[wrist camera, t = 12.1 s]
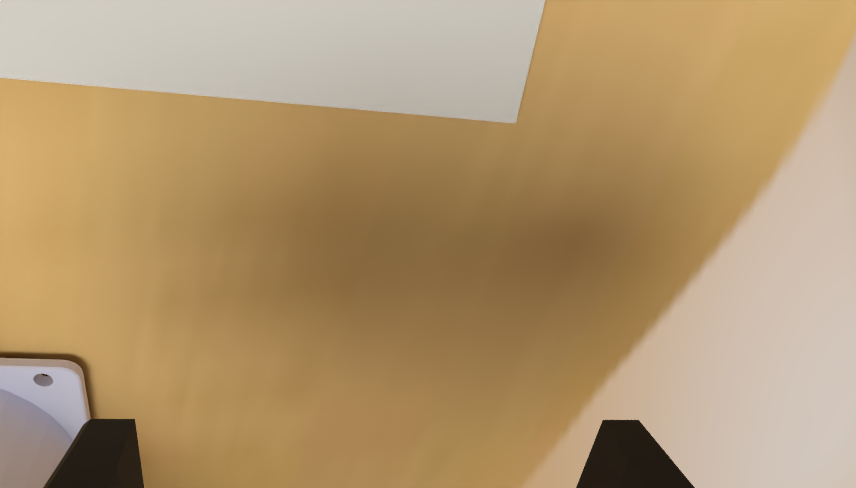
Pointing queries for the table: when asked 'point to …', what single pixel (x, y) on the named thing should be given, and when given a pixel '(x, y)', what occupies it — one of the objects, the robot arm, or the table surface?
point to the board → (285, 50)
